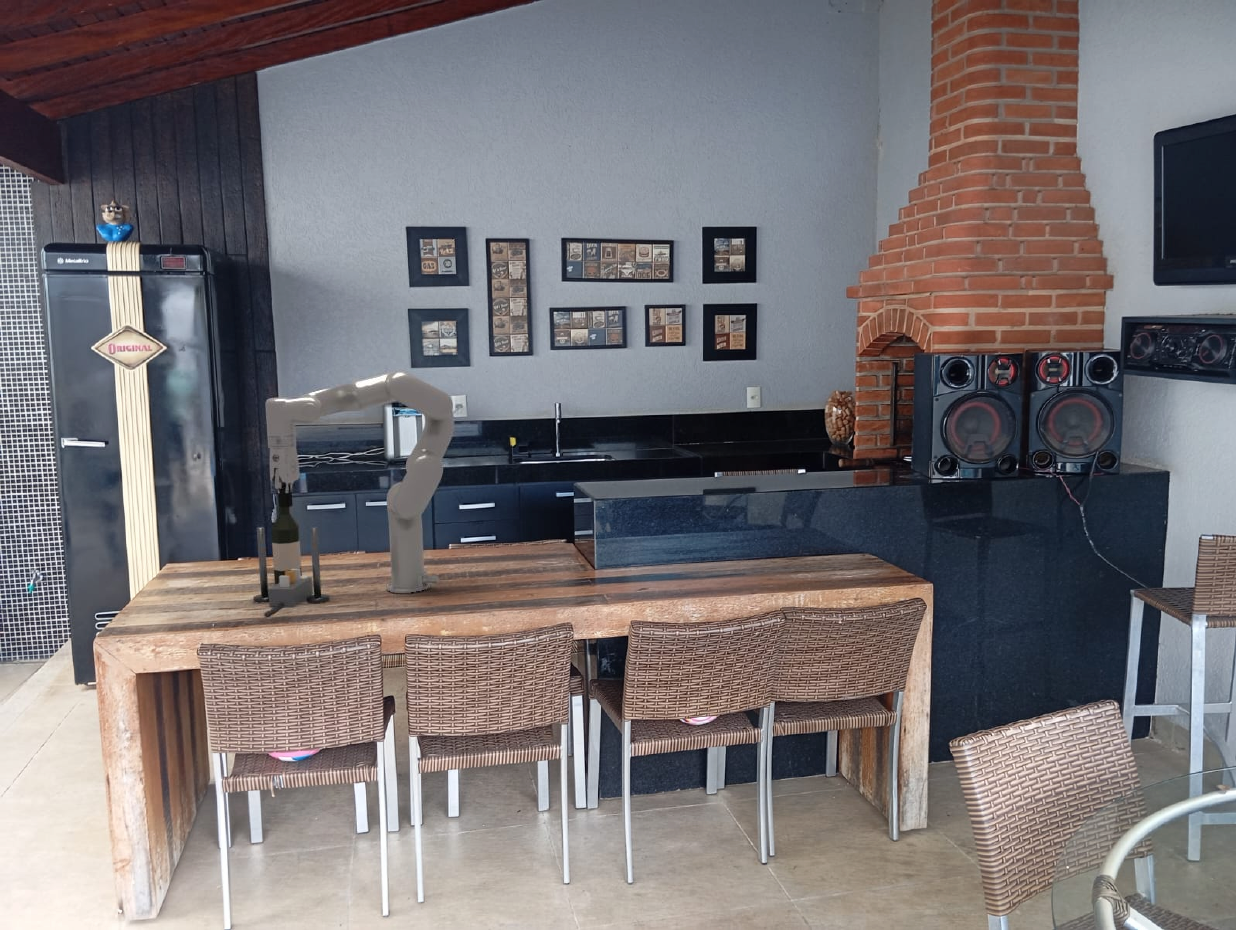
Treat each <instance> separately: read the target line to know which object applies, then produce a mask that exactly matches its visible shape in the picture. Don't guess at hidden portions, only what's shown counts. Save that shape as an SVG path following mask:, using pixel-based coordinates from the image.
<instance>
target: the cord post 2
mask: <svg viewBox="0 0 1236 930" xmlns="http://www.w3.org/2000/svg"><path fill="white" fill-rule="evenodd" d="M309 530H310V531H309V533H310V546H311V549H310V550H311V563H312V564H311V566H312V586H313V594H312V595H310V596H308V597H306V599H305V602H306V603H307V602H308V604H321V603H320V602H323V603H326V602H329V601H330V599H331V598H330V595H329V594H326V593H322V583H321V582H322V581H321V566H320V565H321V564H320V549H319V545H320V544H319V532H318V531H319V528H318V526H316V527H315V526H314V527H309Z"/></svg>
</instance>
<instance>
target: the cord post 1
mask: <svg viewBox="0 0 1236 930" xmlns="http://www.w3.org/2000/svg"><path fill="white" fill-rule="evenodd" d="M265 535H266V534H265V527H264V526H258V527H256V536H257V539H256V540H257V552H258V553H257V554H258V565H259V580H260V584H259V585H260V594H257V595H254V596H253V598H252V599H253V600H252V601H254V603H255V602H268V603H269V591H268V589H269V583H268V567H267V550H266V536H265Z"/></svg>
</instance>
